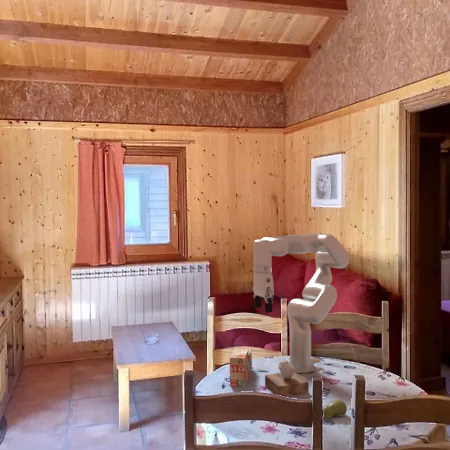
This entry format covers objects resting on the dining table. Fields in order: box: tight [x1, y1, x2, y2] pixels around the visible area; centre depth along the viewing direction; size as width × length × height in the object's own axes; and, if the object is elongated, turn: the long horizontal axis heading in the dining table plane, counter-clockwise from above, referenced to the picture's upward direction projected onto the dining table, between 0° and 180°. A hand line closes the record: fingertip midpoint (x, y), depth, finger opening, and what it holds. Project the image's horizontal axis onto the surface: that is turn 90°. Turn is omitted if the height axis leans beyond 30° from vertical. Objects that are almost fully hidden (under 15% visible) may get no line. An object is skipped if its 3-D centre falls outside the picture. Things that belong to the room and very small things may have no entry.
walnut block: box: [264, 372, 310, 398], centre depth 193 cm, size 13×13×5 cm
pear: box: [322, 399, 348, 420], centre depth 169 cm, size 6×5×10 cm
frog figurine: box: [278, 359, 295, 379], centre depth 193 cm, size 6×7×7 cm
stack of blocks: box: [229, 347, 253, 388], centre depth 207 cm, size 21×6×12 cm, turn 169°
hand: (263, 309), depth 201 cm, fingers open, 9 cm apart
